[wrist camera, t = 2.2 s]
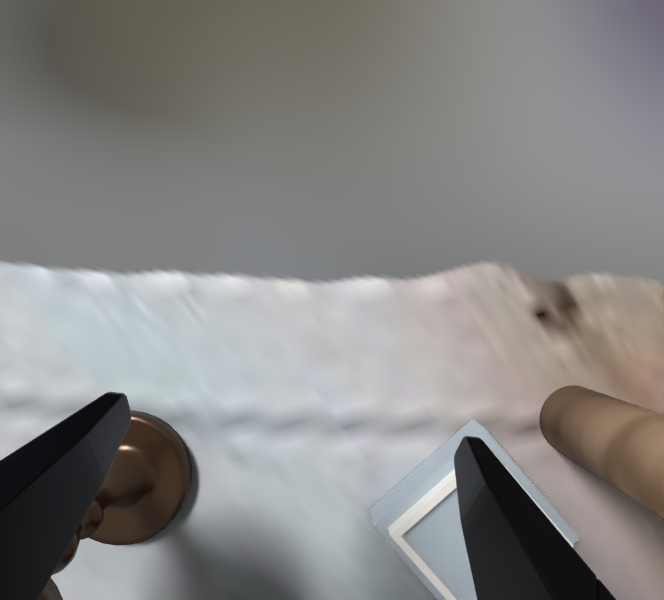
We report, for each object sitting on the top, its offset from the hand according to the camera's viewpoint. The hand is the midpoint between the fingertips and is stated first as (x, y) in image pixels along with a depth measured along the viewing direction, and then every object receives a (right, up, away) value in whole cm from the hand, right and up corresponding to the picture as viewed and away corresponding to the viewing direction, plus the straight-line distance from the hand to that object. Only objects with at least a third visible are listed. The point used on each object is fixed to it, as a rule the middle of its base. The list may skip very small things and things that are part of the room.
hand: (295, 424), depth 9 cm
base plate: (+11, -12, +17) cm, 23 cm away
